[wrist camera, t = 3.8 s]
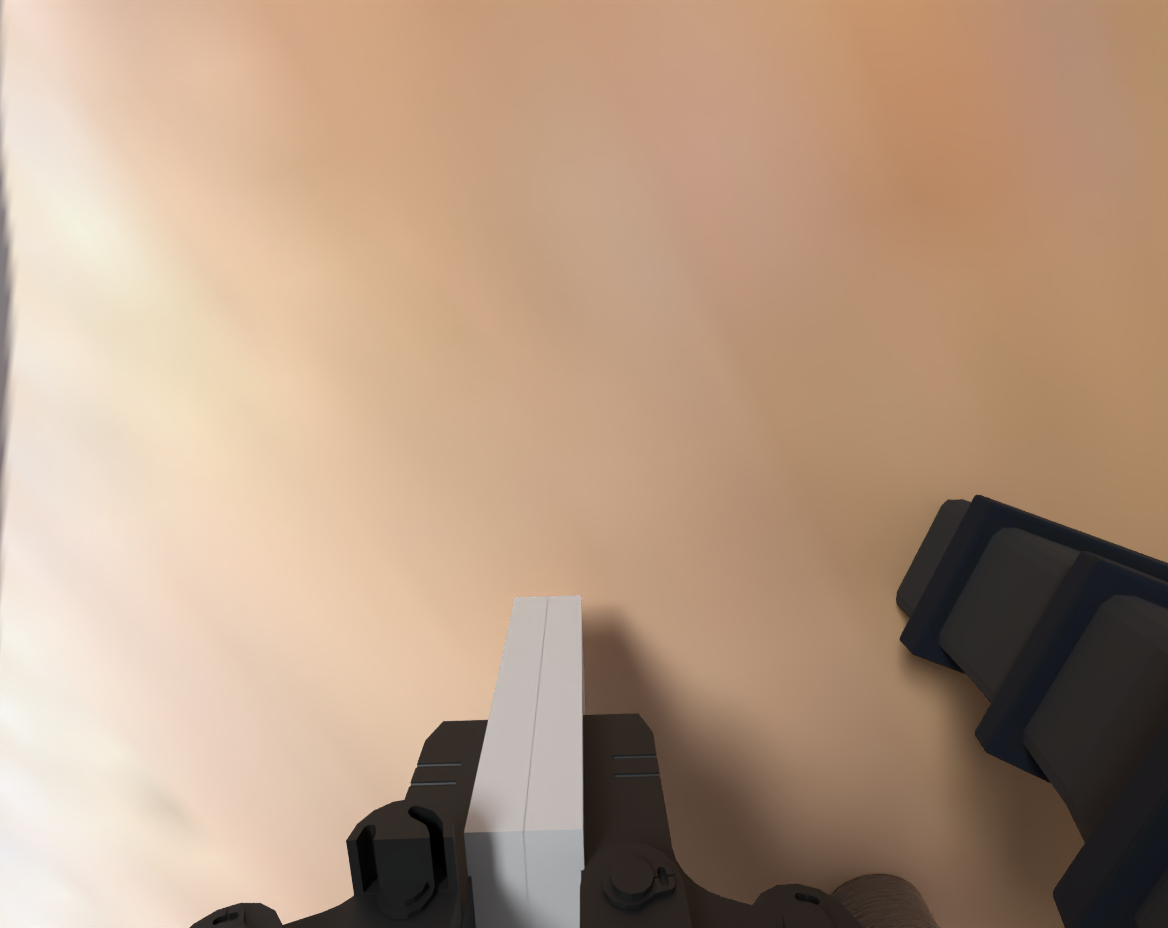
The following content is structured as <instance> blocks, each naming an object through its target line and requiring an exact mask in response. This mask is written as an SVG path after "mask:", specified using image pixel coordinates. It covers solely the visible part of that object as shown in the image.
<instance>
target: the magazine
mask: <svg viewBox="0 0 1168 928" xmlns="http://www.w3.org/2000/svg"><path fill="white" fill-rule="evenodd" d="M896 601H897V604H898V605H899V606H900V607H901V608H902V609H903V610H904V611H905V612H906V613H907V614H908V615H909V616H910V619H909V621H908V623H907V625H906V627H905V629H904V631H903V632H902V634H901V636H900V641H901V642H902V643H903V644H904V645H905V646H906V647H907V648H908V650H909V651H910V652H911V653H912V654H914V655H916V656H919V657H922V658H924V659H927V660H930V661H932V662H935V663H938V664H940V665H943V666H946V667H948V668H951V669H953V670H956V671H959V672H961V673H964V674H967V675H968V676H969V677H970V679H971V680H972V681H973V682H974V683H975V684H976V686H977V687H978V688H979V689H980V690H981V691H982V693H983V694H984V695H985V696H986V697H987V699H988V700H989V701H990V702H991V705H990V707H989V709H988V710H987V712H986V714H985V715H984V717H983V719H982V721H981V722H980V724H979V726H978V727H977V729H976V731H975V736H976V737H977V739H978V740H979V742H980V744H981V745H982V747H983V748H984V750H985V751H986V752H987V753H989V754H991V755H993V756H995V757H997V758H999V759H1001V760H1003V761H1005V762H1007V763H1010V764H1012V765H1014V766H1016V767H1018V768H1020V769H1022V770H1024V771H1026V772H1028V773H1030V774H1033V775H1035V776H1037V777H1039V778H1041V779H1043V780H1045V781H1047V782H1049V783H1051V784H1052V785H1053V786H1054V788H1055V789H1056V791H1057V792H1058V793H1059V795H1060V796H1061V798H1062V799H1063V801H1064V802H1065V803H1066V805H1067V807H1068V809H1069V811H1070V813H1071V815H1072V817H1073V819H1074V821H1075V823H1076V825H1077V827H1078V829H1079V831H1080V833H1081V835H1082V838H1083V840H1084V842H1085V844H1084V845H1083V847H1082V848H1081V850H1080V851H1079V853H1078V854H1077V856H1076V857H1075V859H1074V860H1073V862H1072V863H1071V865H1070V866H1069V868H1068V869H1067V871H1066V872H1065V874H1064V875H1063V877H1062V878H1061V880H1060V881H1059V883H1058V884H1057V886H1056V887H1055V889H1054V891H1053V897H1054V900H1055V903H1056V905H1057V908H1058V910H1059V913H1060V916H1061V918H1062V921H1063V924H1064V926H1065V928H1168V563H1166V562H1163V561H1160V560H1158V559H1155V558H1152V557H1149V556H1147V555H1144V554H1141V553H1138V552H1136V551H1133V550H1130V549H1127V548H1125V547H1122V546H1119V545H1116V544H1114V543H1111V542H1108V541H1105V540H1103V539H1100V538H1097V537H1094V536H1092V535H1089V534H1086V533H1083V532H1081V531H1078V530H1075V529H1072V528H1070V527H1067V526H1064V525H1061V524H1059V523H1056V522H1053V521H1050V520H1048V519H1045V518H1042V517H1039V516H1037V515H1034V514H1031V513H1028V512H1026V511H1023V510H1020V509H1017V508H1015V507H1012V506H1009V505H1006V504H1004V503H1001V502H998V501H995V500H992V499H990V498H987V497H984V496H981V495H976V496H974V498H973V500H972V502H969V501H966V500H963V499H960V500H947V501H946V502H945V503H944V504H943V505H942V506H941V508H940V510H939V512H938V514H937V516H936V517H935V519H934V521H933V523H932V525H931V527H930V529H929V531H928V533H927V535H926V537H925V539H924V541H923V543H922V545H921V547H920V548H919V550H918V552H917V554H916V556H915V558H914V560H913V562H912V564H911V566H910V568H909V570H908V572H907V574H906V576H905V577H904V579H903V581H902V583H901V585H900V587H899V589H898V591H897V597H896Z"/></svg>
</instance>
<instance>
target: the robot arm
mask: <svg viewBox="0 0 1168 928" xmlns="http://www.w3.org/2000/svg"><path fill="white" fill-rule="evenodd" d="M346 843H347V849H348V856H349V863H350V870H351V876H352V883H353V890H354V896H353V897H352V898H350V899H348V900H347V901H345V902H344V903H342V904H340V905H339V906H336V907H334V908H332V909H329V910H327V911H324V912H322V913H319V914H316V915H313V916H309V917H306V918H303V919H300V920H297V921H294V922H291V923H288V924H285V925H282V923H281V921H280V919H279V917H278V915H277V913H276V911H275V910H273V909H271V908H269V907H267V906H265V905H263V904H261V903H239V904H236V905H232V906H229V907H226V908H223V909H219V910H217V911H215V912H213V913H212V914H210V915H208V916H206V917H205V918H203V919H201V920H200V921H198V922H196V923H194V924H193V925H192V926H191V927H190V928H863V927H862V926H861V924H860V923H859V922H858V920H857V919H856V918H855V917H854V916H853V915H852V914H851V913H850V912H849V911H848V910H847V909H846V908H845V906H844V905H843V904H842V903H841V902H839V901H838V900H836V899H834V898H833V897H831V896H829V895H828V894H826V893H824V892H823V891H821V890H819V889H815V888H812V887H808V886H804V885H800V884H787V885H777V886H775V887H773V888H771V889H769V890H767V891H765V892H763V893H761V894H760V896H759V897H758V898H757V900H756V901H755V903H754V904H753V906H752V905H748V904H745V903H741V902H737V901H734V900H730V899H727V898H723V897H721V896H718V895H716V894H713V893H711V892H708V891H707V890H705V889H704V888H702V887H700V886H699V885H697V884H696V883H694V882H693V881H692V880H691V879H690V878H689V877H688V876H687V875H686V874H685V873H684V872H683V870H682V869H681V867H680V865H679V864H678V862H677V861H676V858H675V855H674V852H673V849H672V844H671V838H670V832H669V826H668V820H667V815H666V809H665V803H664V797H663V791H662V785H661V779H660V775H659V767H658V761H657V757H656V749H655V743H654V737H653V732H652V731H651V729H650V728H649V727H648V726H647V724H646V723H645V722H644V721H643V719H642V718H641V717H640V715H639V714H607V715H585V687H584V657H583V627H582V597H581V595H573V596H539V597H515V599H514V604H513V608H512V613H511V618H510V622H509V627H508V631H507V636H506V641H505V645H504V650H503V655H502V659H501V664H500V668H499V673H498V678H497V682H496V687H495V692H494V696H493V701H492V705H491V710H490V715H489V719H488V720H472V721H443V722H442V723H441V724H440V725H439V727H438V728H437V729H436V730H435V731H434V732H433V733H432V734H431V735H430V736H429V737H428V738H427V739H426V741H425V743H424V746H423V749H422V751H421V754H420V757H419V760H418V763H417V768H416V769H415V772H414V774H413V777H412V780H411V786H410V787H409V789H408V792H407V794H406V797H405V800H402V801H396V802H392V803H390V804H387V805H385V806H383V807H381V808H379V809H377V810H374V811H373V812H372V813H370V814H369V815H368V816H367V817H365V818H364V819H363V820H362V821H360V822H359V823H358V824H357V825H356V827H355V828H354V830H353V831H352V833H351V834H350V836H349V837H348V839H347V840H346Z"/></svg>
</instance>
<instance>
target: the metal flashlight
mask: <svg viewBox="0 0 1168 928" xmlns="http://www.w3.org/2000/svg"><path fill="white" fill-rule="evenodd" d="M831 897H833V898H834V899H836V900H838V901H839V902H841V903H842V904H843V905H844V906H845V908H846V909H847V910H848V911H849V912H850V913H851V914H852V915H853V916H854V917H855V918H856V919H857V920H858V922H859V923H860V924H861V926H862V927H863V928H939V926H938V925H937V923H936V921H935V919H934V918H933V916H932V914H931V912H930V911H929V909H928V907H927V905H926V904H925V902H924V900H923V898H922V897H921V895H920V893H919V892H918V890H917V889H916V888H915V887H914V886H913V885H911V884H910V883H909V882H907V881H905V880H903V879H901V878H899V877H895V876H891V875H885V874H874V875H866V876H862V877H859V878H856V879H853V880H851V881H849V882H847V883H845V884H844V885H842V886H841V887H839V888H838V889H837V890H836V891H835V892H834V893H833V894H832V895H831Z"/></svg>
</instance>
